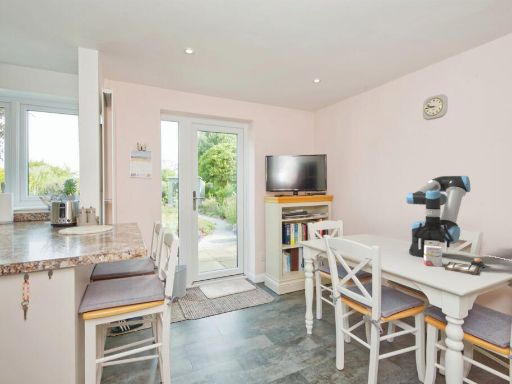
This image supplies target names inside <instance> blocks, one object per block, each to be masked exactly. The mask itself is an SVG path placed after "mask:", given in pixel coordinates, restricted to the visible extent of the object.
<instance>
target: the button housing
mask: <svg viewBox="0 0 512 384" xmlns="http://www.w3.org/2000/svg"><path fill="white" fill-rule="evenodd" d="M470 265H474V266H479V268H483V269H484V268H485V266H486V261H483V260H482V263H478V262H474V259H471V261H470Z"/></svg>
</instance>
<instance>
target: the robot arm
mask: <svg viewBox="0 0 512 384" xmlns="http://www.w3.org/2000/svg"><path fill="white" fill-rule="evenodd" d="M442 192H443V193H442ZM444 192H445V193H446V194H447V195H446V194H444ZM470 192H471V180H470V177H469V176H468V175H442V176H437V177H434V178H432V179H430V180H429V181H428V182H426V183H425V185H424V186H422V187H421V188H419V189H418V190H417V191H415V192H408V193H407V194H406V196H405V199H406V203H407V204H408V205H419V206H420V205H421V206H422V205H424V206H425V220H423V221H414V222H413V223H412V225H411V244H410V246H409V249H408V254H409V255H411V256H414V257H418V258H424V242H425V240H428V241H439V242H440V243H443V244H444V253H445V254H447V253H448V249H449V248H450V247H451V246H450V244H452V245H454V244H456V243H457V242H458V241H459V239H460V237H461V228H460V226H459V224H458V223H457V221H458V215H459V212H460V209H461V208H460V207H461V204H462V200H463V197H465V196H466V194H467V193H470ZM443 205H444V207H443V209H442V212H441V207H442V206H443ZM441 213H442V214H441ZM430 243H432V242H430Z"/></svg>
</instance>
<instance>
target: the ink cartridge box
mask: <svg viewBox="0 0 512 384" xmlns="http://www.w3.org/2000/svg"><path fill="white" fill-rule="evenodd" d="M430 242H431V243H430ZM440 243H441V242H439V241H428V240H425V242H424V257H423V264H424V265H425V266H428V267H442V266H443V247H441V246H440Z"/></svg>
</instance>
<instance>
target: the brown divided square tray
mask: <svg viewBox="0 0 512 384" xmlns="http://www.w3.org/2000/svg"><path fill="white" fill-rule="evenodd" d="M479 269H480V267H479V266H474V265H471V264H466V263H460V262H455V261H448V262H447V264H446V265H445V266H444V270H445V271H450V272H455V273H461V274H467V275H473V276H477V274H478V272H479Z"/></svg>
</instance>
